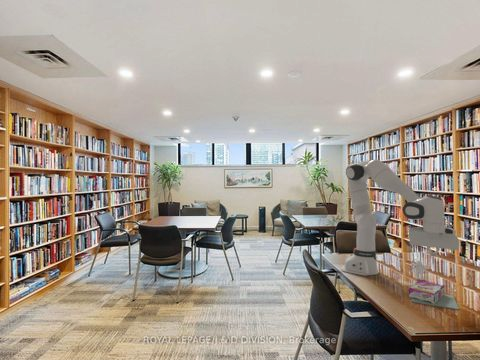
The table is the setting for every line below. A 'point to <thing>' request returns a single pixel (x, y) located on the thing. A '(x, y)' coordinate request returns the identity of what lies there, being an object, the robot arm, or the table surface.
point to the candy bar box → (426, 291)
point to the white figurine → (419, 269)
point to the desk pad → (441, 302)
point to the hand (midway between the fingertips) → (433, 256)
